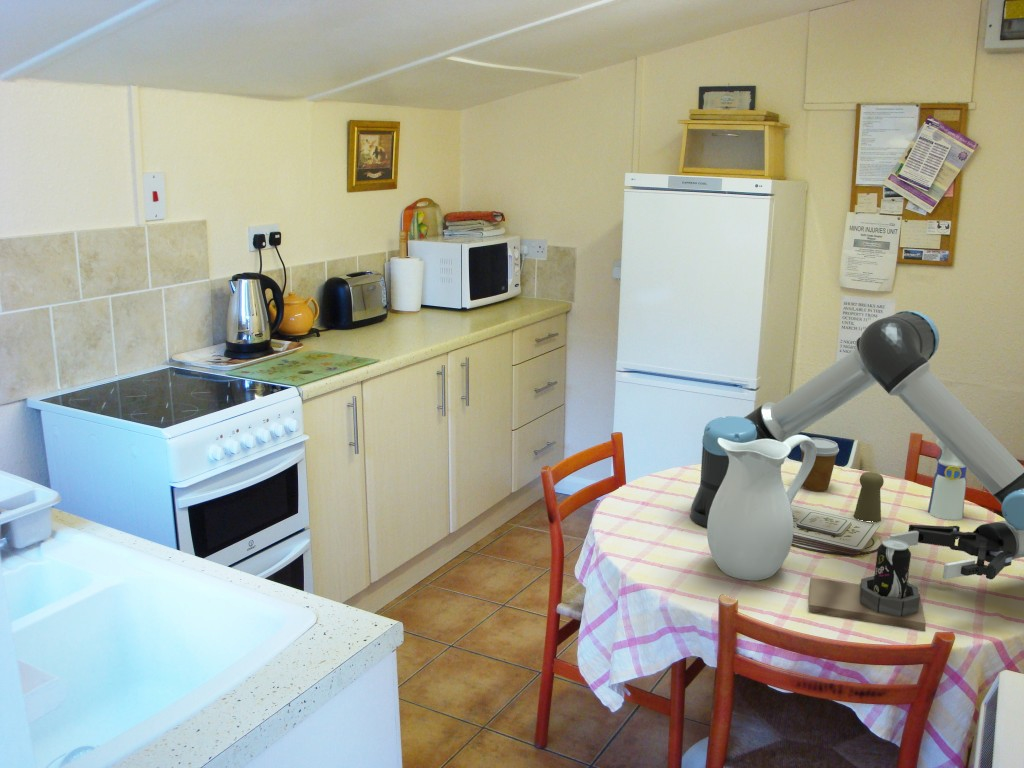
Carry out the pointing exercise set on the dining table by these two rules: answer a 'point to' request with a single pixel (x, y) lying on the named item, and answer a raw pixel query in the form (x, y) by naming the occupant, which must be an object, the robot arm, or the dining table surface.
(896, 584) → the beverage can
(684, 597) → the dining table surface
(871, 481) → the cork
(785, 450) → the pitcher
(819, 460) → the disposable coffee cup
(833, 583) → the socket plate
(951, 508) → the white tall figurine
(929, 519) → the dining table surface
